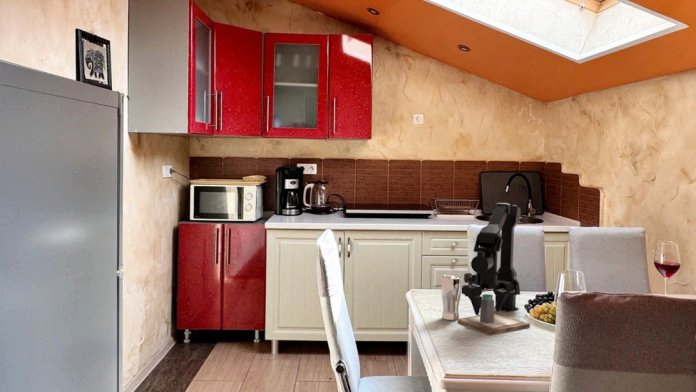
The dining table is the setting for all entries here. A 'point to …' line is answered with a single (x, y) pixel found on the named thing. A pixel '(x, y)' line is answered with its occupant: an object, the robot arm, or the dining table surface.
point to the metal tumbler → (451, 296)
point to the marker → (487, 309)
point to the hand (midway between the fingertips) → (487, 313)
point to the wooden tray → (494, 324)
